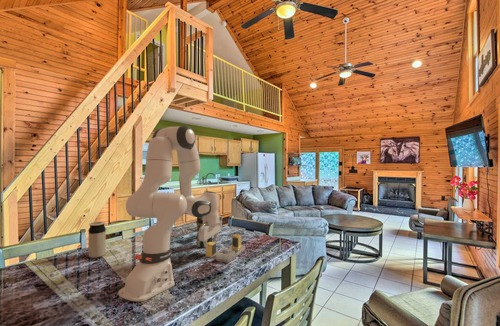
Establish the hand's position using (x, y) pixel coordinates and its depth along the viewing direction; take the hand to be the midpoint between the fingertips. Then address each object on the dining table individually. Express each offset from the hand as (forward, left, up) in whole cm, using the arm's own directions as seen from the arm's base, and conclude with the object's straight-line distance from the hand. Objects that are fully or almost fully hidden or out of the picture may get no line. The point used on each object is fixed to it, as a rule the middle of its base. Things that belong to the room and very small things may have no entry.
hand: (210, 243), depth 137 cm
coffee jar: (+11, +11, -6) cm, 17 cm away
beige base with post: (+5, -11, -6) cm, 13 cm away
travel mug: (-26, +57, -6) cm, 63 cm away
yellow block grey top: (-1, -1, -6) cm, 6 cm away
